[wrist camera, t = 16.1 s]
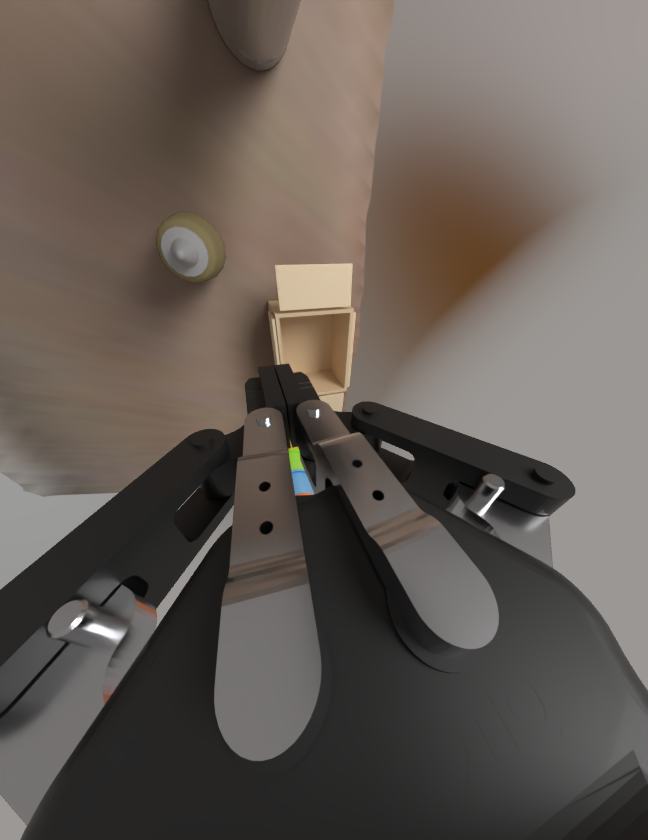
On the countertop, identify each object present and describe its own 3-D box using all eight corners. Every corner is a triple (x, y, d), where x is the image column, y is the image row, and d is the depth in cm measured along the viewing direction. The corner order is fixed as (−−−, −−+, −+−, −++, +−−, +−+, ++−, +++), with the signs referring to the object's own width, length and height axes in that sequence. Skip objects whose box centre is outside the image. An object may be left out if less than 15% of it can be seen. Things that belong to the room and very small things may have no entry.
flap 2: (289, 403, 47) (291, 423, 52) (343, 394, 50) (341, 414, 54) (288, 401, 48) (290, 422, 52) (343, 392, 51) (340, 413, 55)
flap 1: (279, 310, 37) (274, 265, 33) (349, 305, 40) (351, 263, 36) (280, 310, 36) (274, 265, 33) (350, 306, 39) (352, 263, 36)
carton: (264, 300, 44) (271, 314, 37) (337, 296, 47) (356, 308, 40) (275, 378, 54) (282, 401, 47) (334, 370, 58) (349, 390, 51)
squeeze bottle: (236, 258, 39) (240, 272, 26) (199, 287, 40) (183, 314, 26) (197, 199, 33) (175, 178, 20) (154, 234, 34) (106, 235, 21)
